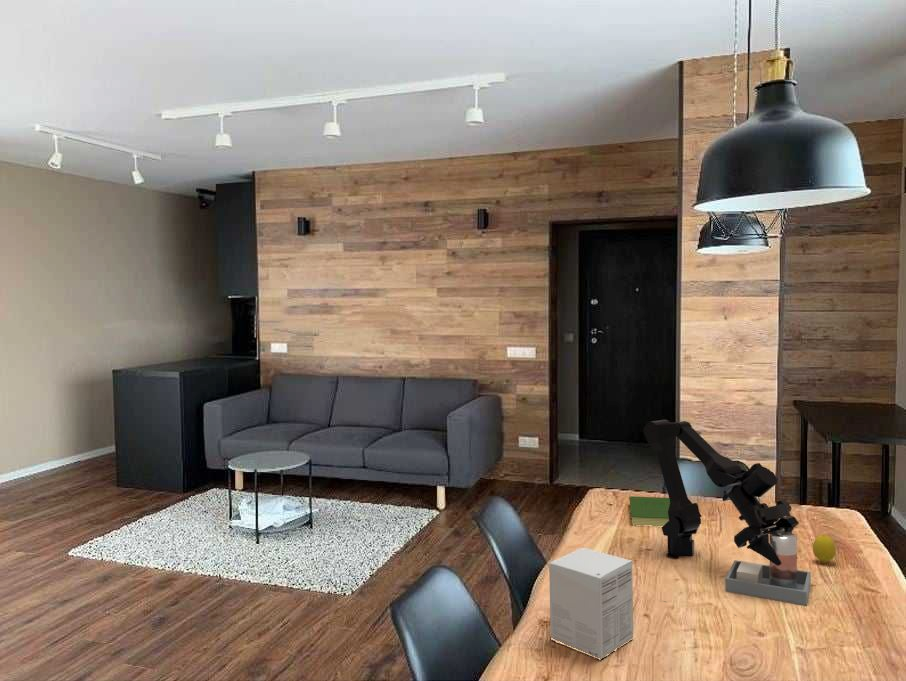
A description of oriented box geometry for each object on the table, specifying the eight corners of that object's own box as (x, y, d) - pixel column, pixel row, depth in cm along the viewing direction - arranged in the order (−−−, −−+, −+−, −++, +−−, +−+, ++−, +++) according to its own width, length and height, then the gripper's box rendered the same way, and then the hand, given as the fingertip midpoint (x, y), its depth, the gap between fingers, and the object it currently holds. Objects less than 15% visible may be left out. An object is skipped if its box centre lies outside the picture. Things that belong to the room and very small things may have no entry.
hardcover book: (691, 530, 224) (691, 518, 223) (631, 527, 228) (631, 516, 227) (683, 508, 248) (683, 497, 248) (629, 506, 252) (629, 495, 252)
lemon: (838, 567, 189) (838, 538, 188) (816, 566, 190) (816, 537, 189) (831, 559, 194) (831, 531, 194) (810, 558, 195) (810, 530, 195)
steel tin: (777, 592, 168) (778, 539, 168) (764, 582, 175) (764, 531, 174) (801, 591, 169) (802, 538, 168) (787, 581, 175) (788, 530, 174)
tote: (725, 594, 173) (725, 578, 173) (734, 575, 185) (734, 560, 185) (806, 608, 164) (806, 592, 164) (810, 587, 176) (810, 572, 176)
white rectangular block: (736, 586, 175) (736, 571, 175) (741, 575, 182) (741, 560, 182) (758, 590, 173) (758, 574, 173) (762, 579, 180) (762, 564, 179)
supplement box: (635, 639, 151) (634, 560, 150) (601, 662, 142) (599, 578, 141) (584, 620, 160) (582, 546, 160) (548, 641, 151) (547, 562, 150)
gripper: (744, 495, 169) (785, 554, 160) (792, 484, 178) (833, 539, 170) (717, 519, 177) (755, 576, 168) (764, 507, 186) (803, 560, 177)
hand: (787, 562), depth 170 cm, fingers closed on steel tin, 6 cm apart
